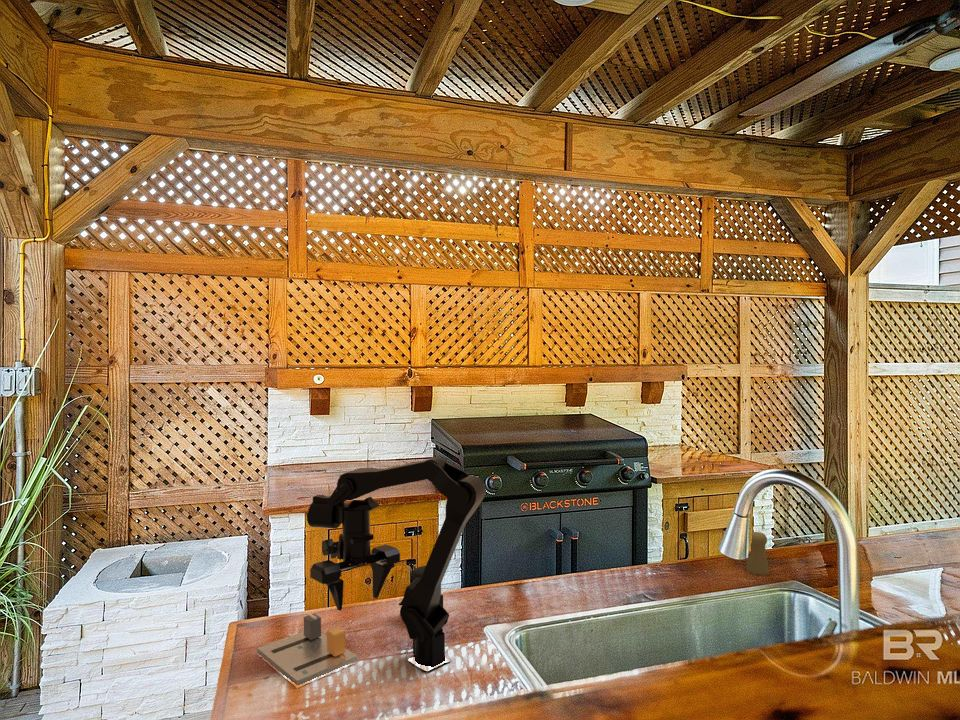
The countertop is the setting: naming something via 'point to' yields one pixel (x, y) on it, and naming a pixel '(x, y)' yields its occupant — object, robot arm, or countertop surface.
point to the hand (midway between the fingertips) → (357, 603)
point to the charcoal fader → (312, 626)
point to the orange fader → (336, 641)
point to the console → (303, 657)
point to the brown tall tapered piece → (758, 555)
